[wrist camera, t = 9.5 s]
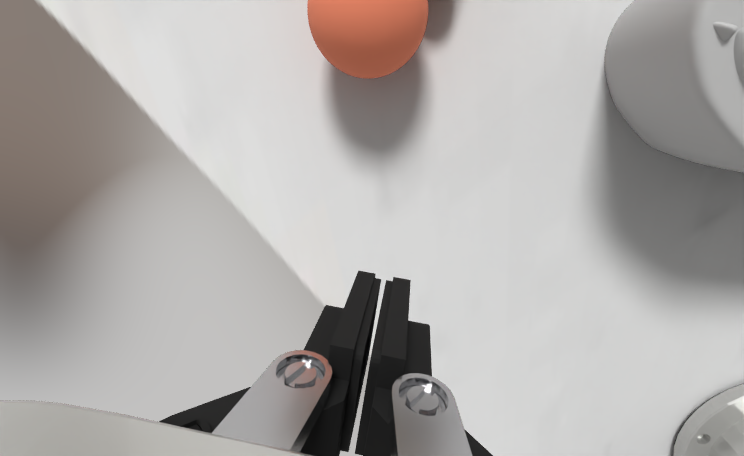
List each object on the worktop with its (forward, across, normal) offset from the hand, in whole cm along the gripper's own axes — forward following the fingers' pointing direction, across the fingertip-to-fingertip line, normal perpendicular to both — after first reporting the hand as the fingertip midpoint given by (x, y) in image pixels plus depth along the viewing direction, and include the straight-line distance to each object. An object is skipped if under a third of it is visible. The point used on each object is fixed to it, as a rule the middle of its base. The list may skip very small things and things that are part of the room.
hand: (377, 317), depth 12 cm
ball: (+10, +3, -10) cm, 15 cm away
